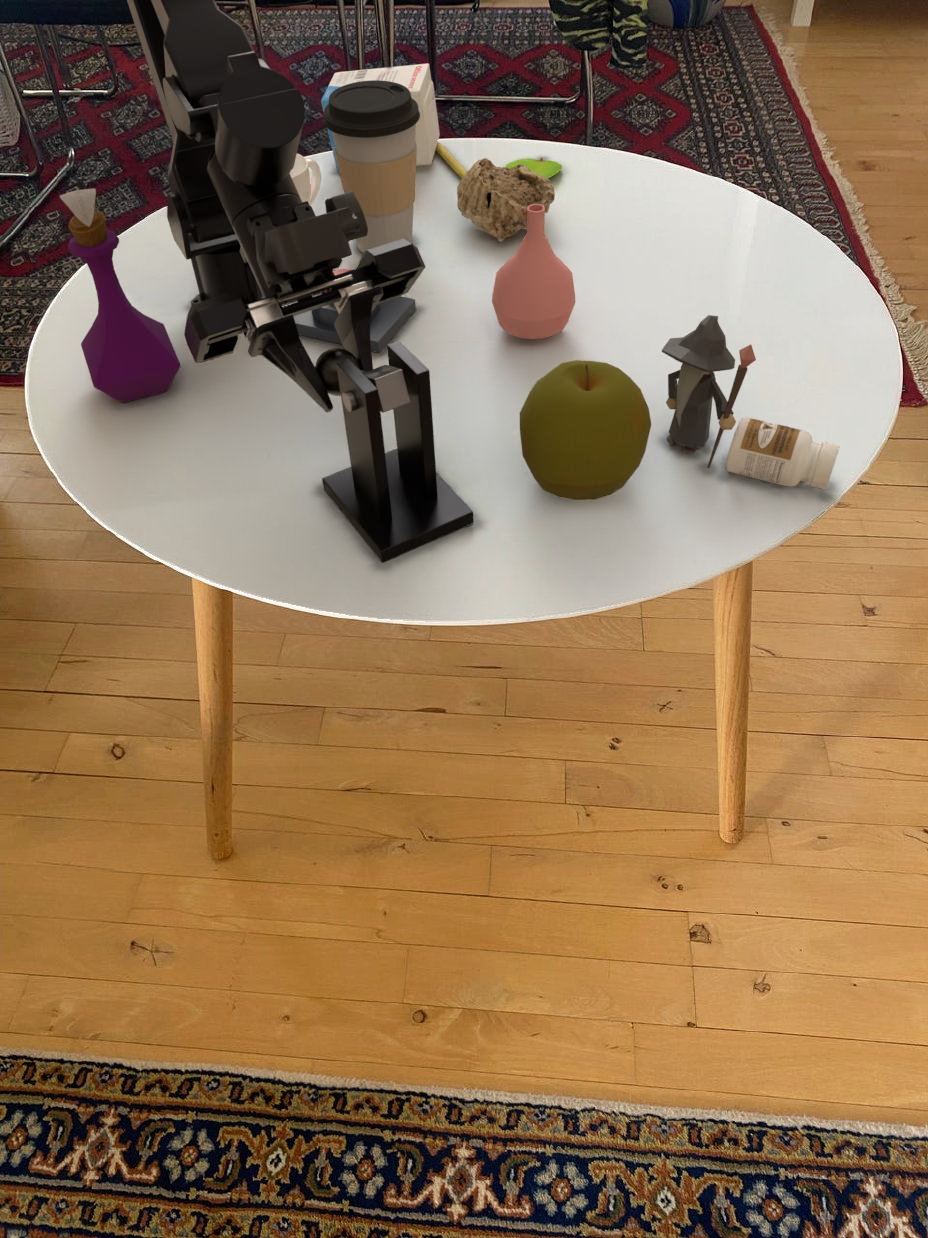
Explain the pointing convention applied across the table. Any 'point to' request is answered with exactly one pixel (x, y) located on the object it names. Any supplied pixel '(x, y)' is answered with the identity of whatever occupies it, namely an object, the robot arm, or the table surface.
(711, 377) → the wizard figurine
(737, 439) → the pill bottle
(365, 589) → the table surface
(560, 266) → the pink vase
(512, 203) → the brown rough chunky piece
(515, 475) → the table surface
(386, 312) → the control block
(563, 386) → the apple
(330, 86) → the ink box
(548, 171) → the decorative leaf
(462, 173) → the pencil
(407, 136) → the coffee cup
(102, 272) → the perfume bottle
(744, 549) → the table surface
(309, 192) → the cup
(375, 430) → the bracket
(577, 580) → the table surface
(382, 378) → the lever
